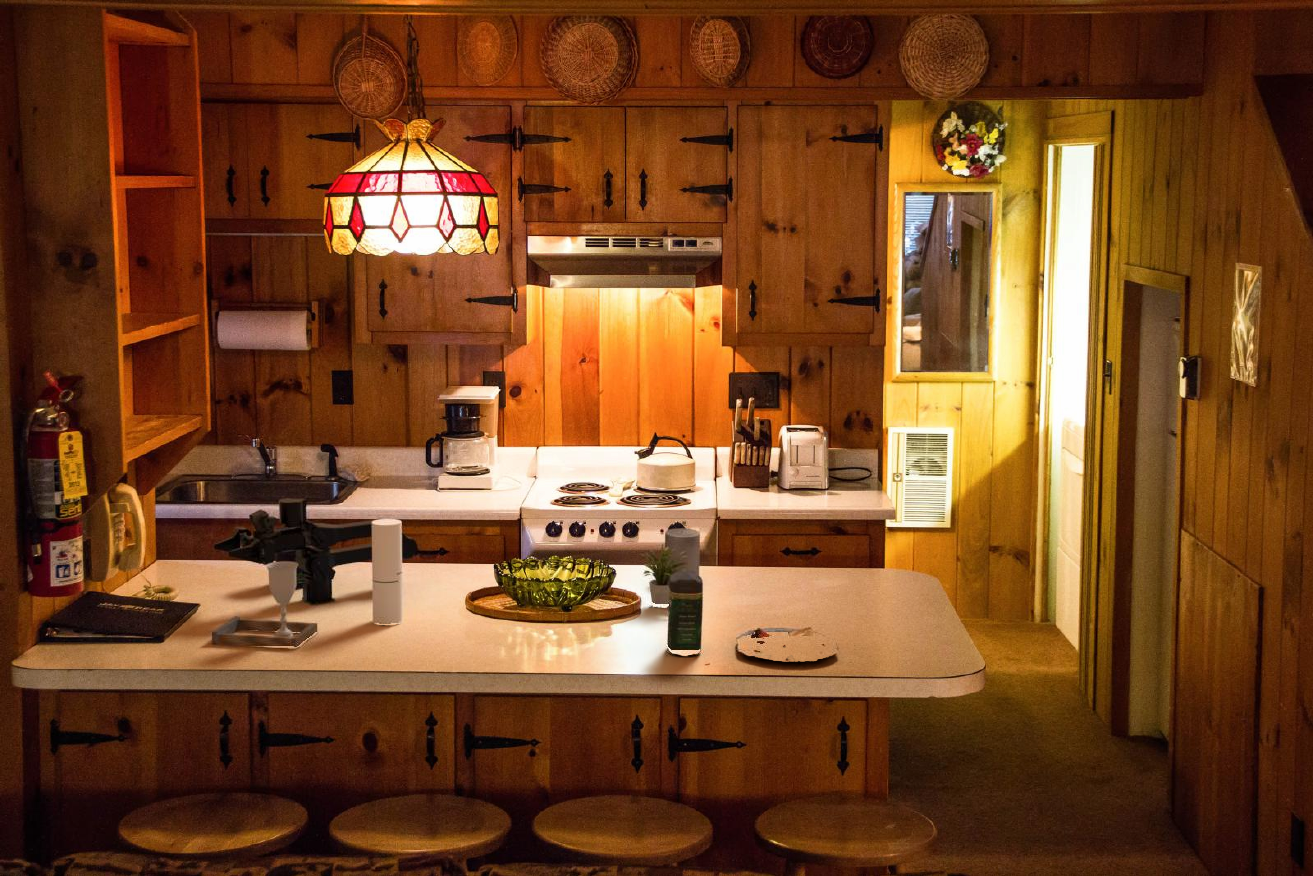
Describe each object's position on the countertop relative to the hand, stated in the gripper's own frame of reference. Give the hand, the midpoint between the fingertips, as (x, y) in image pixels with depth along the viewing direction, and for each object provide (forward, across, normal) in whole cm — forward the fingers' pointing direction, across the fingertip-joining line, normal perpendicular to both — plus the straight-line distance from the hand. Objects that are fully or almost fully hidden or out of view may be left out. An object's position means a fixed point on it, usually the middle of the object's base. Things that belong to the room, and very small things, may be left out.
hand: (221, 550), depth 357 cm
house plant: (-94, +54, +19) cm, 110 cm away
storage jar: (-26, -18, +17) cm, 36 cm away
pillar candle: (-115, +37, +19) cm, 123 cm away
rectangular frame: (-1, +23, +17) cm, 29 cm away
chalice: (-4, +27, +17) cm, 32 cm away
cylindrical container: (-30, +27, +18) cm, 44 cm away
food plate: (-95, +100, +19) cm, 140 cm away
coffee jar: (-75, +87, +19) cm, 116 cm away
